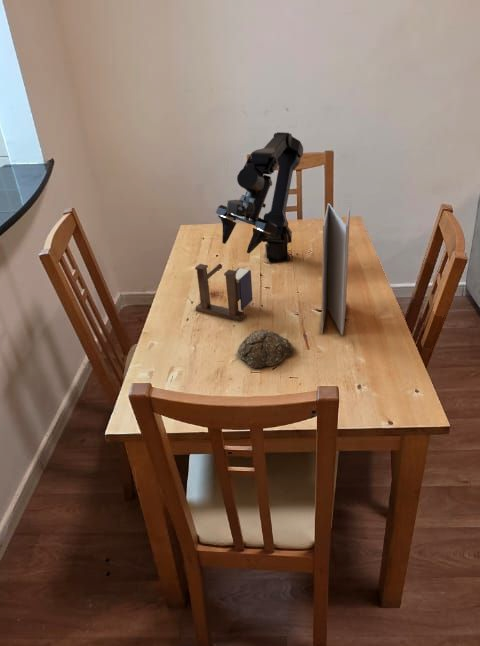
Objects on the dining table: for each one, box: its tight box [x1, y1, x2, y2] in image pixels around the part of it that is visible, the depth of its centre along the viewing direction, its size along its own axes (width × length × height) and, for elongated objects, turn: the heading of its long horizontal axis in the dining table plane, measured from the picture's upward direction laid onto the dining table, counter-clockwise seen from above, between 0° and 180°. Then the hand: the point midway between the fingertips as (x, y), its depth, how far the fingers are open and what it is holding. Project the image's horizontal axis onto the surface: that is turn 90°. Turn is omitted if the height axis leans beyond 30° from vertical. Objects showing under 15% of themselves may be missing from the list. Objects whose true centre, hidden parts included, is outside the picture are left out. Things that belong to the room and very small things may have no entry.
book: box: [235, 267, 253, 311], centre depth 153 cm, size 6×4×10 cm, turn 152°
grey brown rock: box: [237, 328, 293, 369], centre depth 136 cm, size 13×12×5 cm
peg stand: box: [194, 263, 249, 322], centre depth 154 cm, size 11×14×14 cm
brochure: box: [320, 202, 351, 336], centre depth 141 cm, size 14×6×30 cm, turn 168°
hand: (235, 248), depth 158 cm, fingers open, 9 cm apart
